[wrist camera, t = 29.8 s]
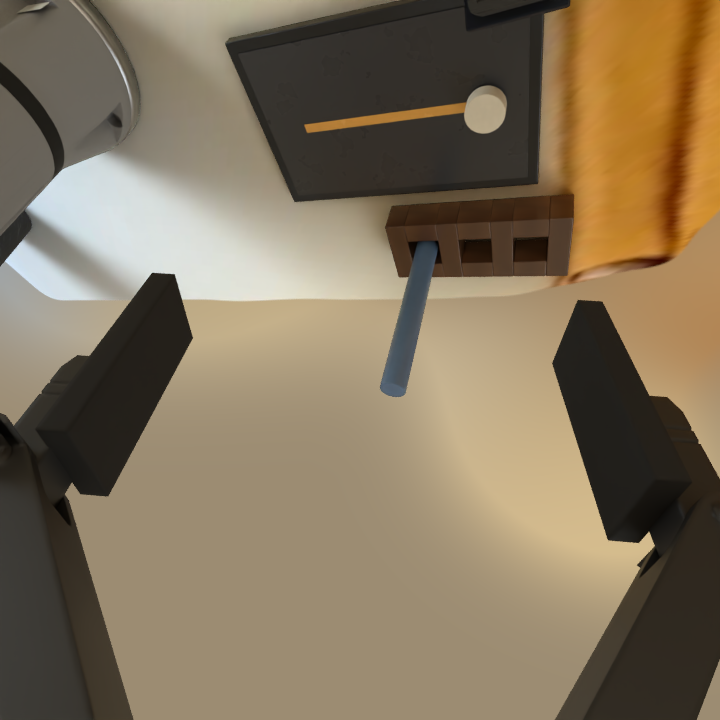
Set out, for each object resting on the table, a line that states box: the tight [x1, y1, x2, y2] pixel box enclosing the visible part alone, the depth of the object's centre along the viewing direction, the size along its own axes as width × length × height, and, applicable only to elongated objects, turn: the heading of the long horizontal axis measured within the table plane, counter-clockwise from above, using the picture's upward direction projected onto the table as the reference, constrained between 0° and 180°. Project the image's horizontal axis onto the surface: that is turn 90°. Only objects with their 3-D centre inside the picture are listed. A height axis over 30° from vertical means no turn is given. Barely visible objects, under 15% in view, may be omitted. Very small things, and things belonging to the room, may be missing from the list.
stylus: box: [380, 241, 439, 397], centre depth 41 cm, size 2×2×18 cm
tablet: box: [225, 0, 544, 202], centre depth 37 cm, size 22×14×1 cm, turn 106°
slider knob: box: [464, 86, 507, 134], centre depth 33 cm, size 3×3×1 cm
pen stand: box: [385, 194, 574, 277], centre depth 43 cm, size 16×6×3 cm, turn 106°
